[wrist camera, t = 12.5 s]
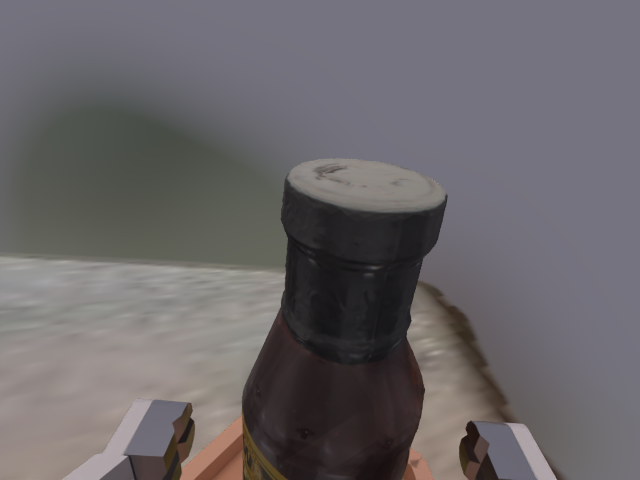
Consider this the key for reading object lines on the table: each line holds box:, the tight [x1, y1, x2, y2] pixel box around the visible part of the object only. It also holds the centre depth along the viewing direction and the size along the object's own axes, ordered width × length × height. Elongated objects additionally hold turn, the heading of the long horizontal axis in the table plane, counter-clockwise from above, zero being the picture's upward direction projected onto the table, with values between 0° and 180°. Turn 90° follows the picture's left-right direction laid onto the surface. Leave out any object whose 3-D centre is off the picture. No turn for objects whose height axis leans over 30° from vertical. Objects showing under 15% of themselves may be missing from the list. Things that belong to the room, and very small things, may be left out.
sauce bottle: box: [242, 158, 448, 480], centre depth 13 cm, size 7×6×20 cm
